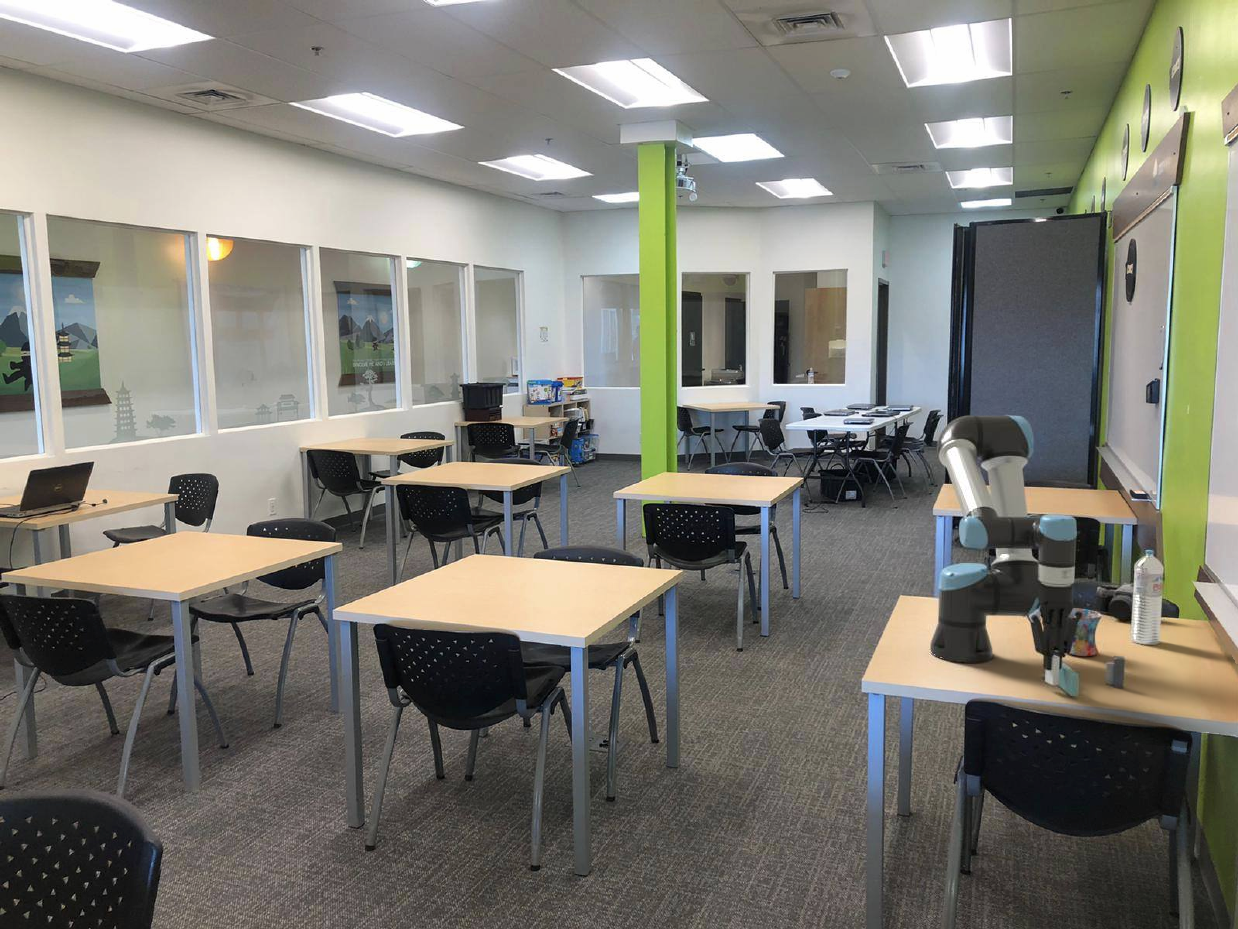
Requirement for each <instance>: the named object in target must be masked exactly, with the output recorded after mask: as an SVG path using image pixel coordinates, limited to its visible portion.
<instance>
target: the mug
mask: <svg viewBox="0 0 1238 929" xmlns="http://www.w3.org/2000/svg"><path fill="white" fill-rule="evenodd" d="M1073 609H1075V610H1076V611H1079V612H1081V613H1082V617H1081V618H1080V620H1079V622H1078V625H1077V629H1076V632H1075V636H1074V640H1073V644H1072V648H1071V651H1070V653H1069V654H1070V655H1074V656H1077V657H1078V656H1079V657H1091V656H1096V655H1097V654H1099V650H1098V647H1097V644H1096V633H1097V632H1096V631H1097V628H1098V625H1099V622H1100V620H1101V619H1102V618H1103V617H1102V613H1098V612H1097V611H1096V610H1091V609H1085V608H1076V607H1075V608H1074V607H1073Z"/></svg>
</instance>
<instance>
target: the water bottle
mask: <svg viewBox="0 0 1238 929" xmlns="http://www.w3.org/2000/svg"><path fill="white" fill-rule="evenodd" d="M1154 554H1155V551H1154V550H1152V549H1146V550H1145V555H1144V556H1142V557H1141V558H1139V559H1138V560H1136V562H1135V563H1134V566H1133V570H1134V575H1133V577H1134V578H1133V586H1134V591H1133V601H1132V618H1131V624H1130V641H1132V642H1133V643H1136V644H1138V645H1143V646H1155V645H1158V644H1159V643H1160V639H1161V622H1162V608H1163V607H1162V605H1163V603H1162V602H1163V580H1164V578H1163V576H1164V569H1165V568H1164V566H1163V564H1162V562H1161V561H1160V560H1159V559H1158V558H1156V556H1154Z"/></svg>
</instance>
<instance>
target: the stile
mask: <svg viewBox="0 0 1238 929" xmlns="http://www.w3.org/2000/svg"><path fill="white" fill-rule="evenodd" d="M1125 661H1126V660H1125V657H1124V656H1121V655H1113V662H1112V661H1111V662H1109V661H1106V667H1105V668H1106V671H1105V684H1106V685H1112V686H1113V688H1115V689H1124V681H1125V680H1124V678H1125V664H1126V663H1125Z"/></svg>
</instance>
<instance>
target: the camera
mask: <svg viewBox="0 0 1238 929" xmlns="http://www.w3.org/2000/svg"><path fill="white" fill-rule="evenodd" d="M1133 591H1134V583H1126V582H1124V583H1123V584H1122V585H1121V586H1119V584H1108V585H1106V584H1101V586H1098V587H1097V589H1096V595H1095V612H1098V613H1100V614H1103V615H1109V616H1111V617H1113V618H1114V619H1116V620H1120V621H1123V620H1128V619H1132V601H1133Z"/></svg>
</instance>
